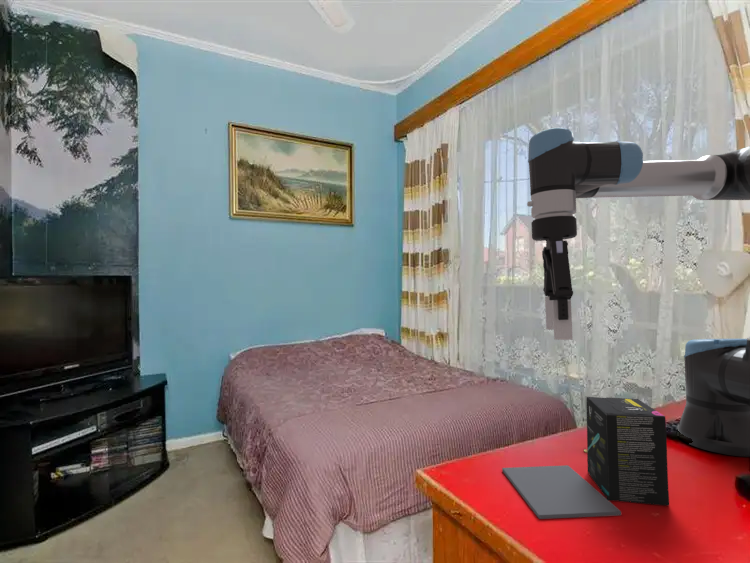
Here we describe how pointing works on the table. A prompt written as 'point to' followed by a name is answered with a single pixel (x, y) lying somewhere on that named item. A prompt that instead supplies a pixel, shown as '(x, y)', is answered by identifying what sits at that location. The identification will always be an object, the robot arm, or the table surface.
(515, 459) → the table surface
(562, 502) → the felt pad
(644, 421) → the tampon box
